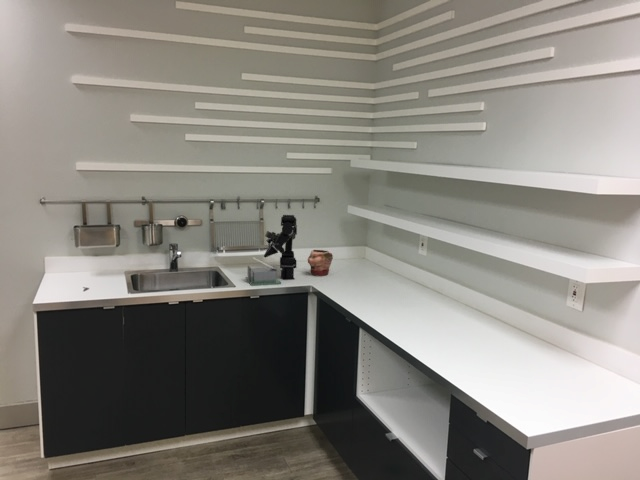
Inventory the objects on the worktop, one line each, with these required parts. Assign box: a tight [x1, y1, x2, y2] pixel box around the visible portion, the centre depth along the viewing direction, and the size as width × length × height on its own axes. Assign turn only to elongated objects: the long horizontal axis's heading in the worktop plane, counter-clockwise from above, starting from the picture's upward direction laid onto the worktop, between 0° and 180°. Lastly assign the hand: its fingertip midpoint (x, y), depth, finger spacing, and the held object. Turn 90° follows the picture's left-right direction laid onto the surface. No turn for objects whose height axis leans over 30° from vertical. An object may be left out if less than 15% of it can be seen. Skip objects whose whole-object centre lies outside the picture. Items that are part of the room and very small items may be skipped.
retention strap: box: [252, 256, 276, 269], centre depth 280 cm, size 13×4×1 cm, turn 110°
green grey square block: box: [245, 265, 282, 287], centre depth 281 cm, size 16×16×8 cm
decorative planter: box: [307, 249, 334, 277], centre depth 302 cm, size 20×12×14 cm, turn 144°
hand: (264, 256), depth 280 cm, fingers closed
